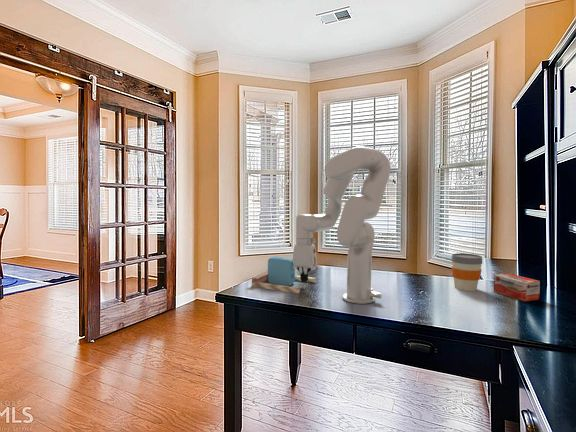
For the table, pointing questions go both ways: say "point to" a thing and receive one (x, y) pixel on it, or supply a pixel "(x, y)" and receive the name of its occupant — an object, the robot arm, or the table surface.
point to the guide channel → (262, 282)
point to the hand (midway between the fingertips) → (304, 281)
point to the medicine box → (517, 287)
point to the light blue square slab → (281, 271)
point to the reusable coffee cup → (466, 271)
